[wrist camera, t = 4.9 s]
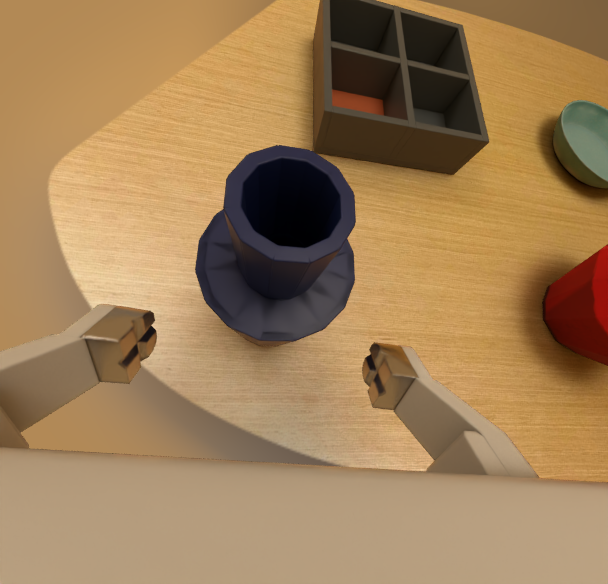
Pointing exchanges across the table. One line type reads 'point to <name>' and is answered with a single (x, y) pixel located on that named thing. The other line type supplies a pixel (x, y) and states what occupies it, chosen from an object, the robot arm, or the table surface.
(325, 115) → the tray
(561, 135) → the saucer
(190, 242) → the table surface
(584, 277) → the bottle
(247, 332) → the navy bottle
